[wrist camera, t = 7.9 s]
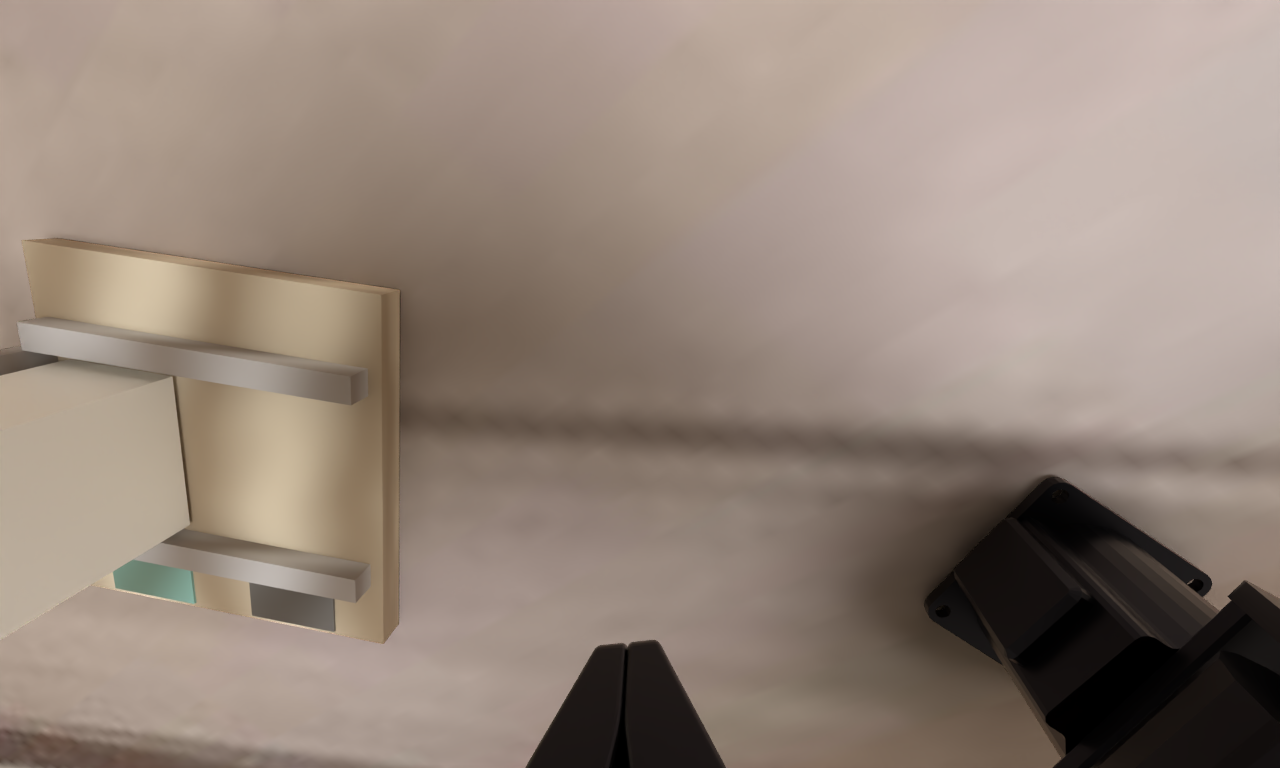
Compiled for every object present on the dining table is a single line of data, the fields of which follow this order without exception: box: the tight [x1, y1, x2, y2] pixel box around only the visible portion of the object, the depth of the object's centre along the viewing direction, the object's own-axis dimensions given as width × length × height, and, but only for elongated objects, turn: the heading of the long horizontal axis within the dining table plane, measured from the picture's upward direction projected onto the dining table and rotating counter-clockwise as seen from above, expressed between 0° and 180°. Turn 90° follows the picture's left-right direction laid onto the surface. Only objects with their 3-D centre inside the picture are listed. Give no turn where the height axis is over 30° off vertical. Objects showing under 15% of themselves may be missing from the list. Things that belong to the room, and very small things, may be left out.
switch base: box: [0, 238, 400, 644], centre depth 22 cm, size 13×14×3 cm
